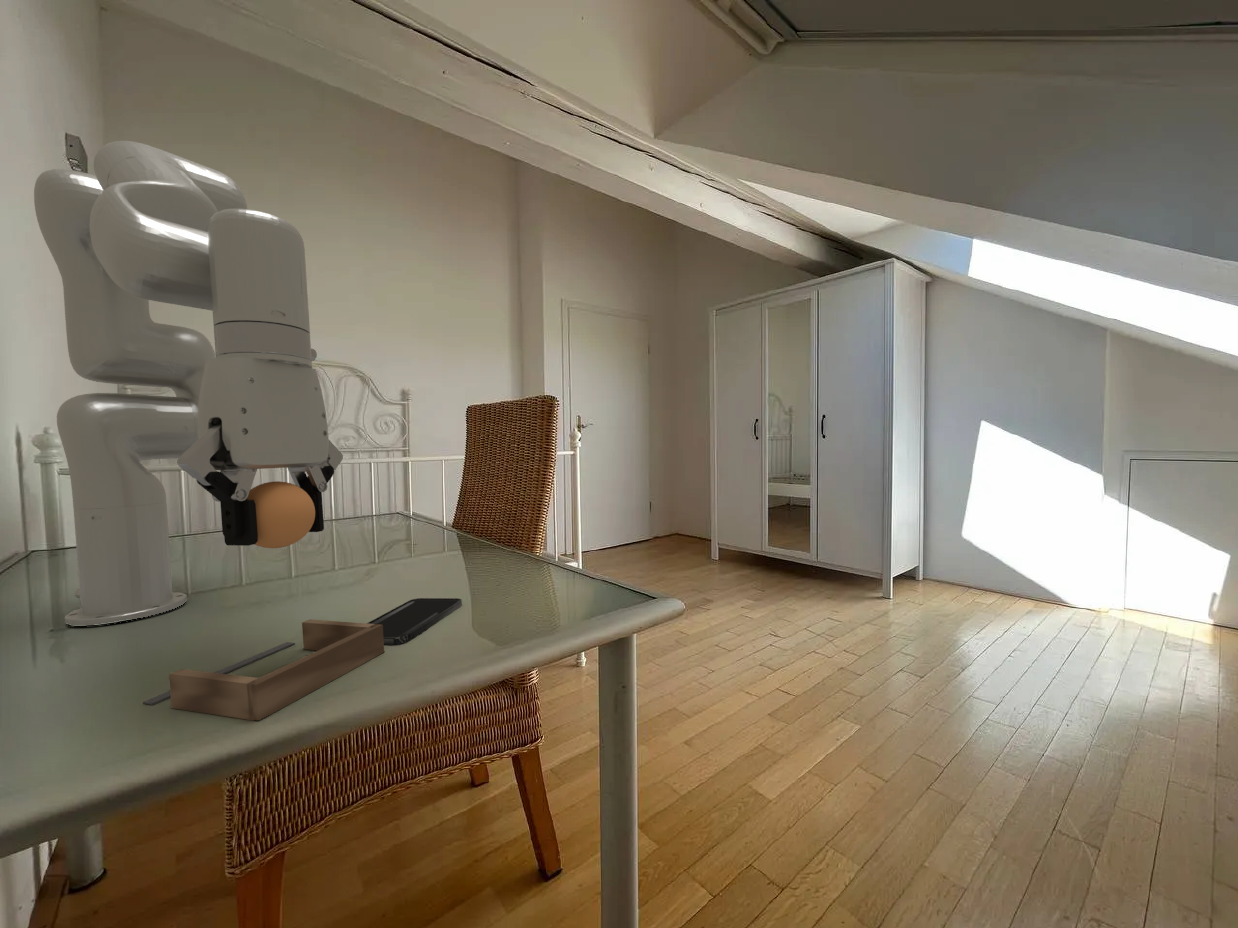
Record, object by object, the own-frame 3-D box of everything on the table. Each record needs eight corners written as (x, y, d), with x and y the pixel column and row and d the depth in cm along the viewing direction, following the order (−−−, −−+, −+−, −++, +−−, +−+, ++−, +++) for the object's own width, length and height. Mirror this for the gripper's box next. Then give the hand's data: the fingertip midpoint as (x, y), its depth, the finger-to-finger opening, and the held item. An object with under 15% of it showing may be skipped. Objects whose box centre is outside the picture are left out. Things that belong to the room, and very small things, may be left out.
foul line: (142, 703, 45) (142, 701, 45) (286, 643, 58) (286, 641, 58) (152, 705, 44) (152, 703, 44) (294, 643, 58) (294, 642, 58)
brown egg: (219, 554, 46) (215, 485, 46) (283, 541, 53) (279, 480, 52) (272, 555, 45) (267, 483, 44) (332, 541, 51) (328, 478, 51)
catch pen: (171, 707, 44) (169, 673, 44) (311, 645, 57) (309, 619, 57) (258, 720, 41) (256, 684, 41) (384, 652, 54) (382, 624, 54)
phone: (339, 637, 57) (413, 597, 72) (340, 647, 57) (414, 605, 72) (403, 639, 56) (465, 598, 71) (403, 649, 56) (465, 606, 71)
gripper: (312, 367, 57) (322, 524, 58) (128, 337, 41) (144, 556, 41) (366, 361, 55) (376, 523, 56) (195, 326, 39) (211, 557, 39)
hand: (277, 536), depth 49 cm, fingers closed on brown egg, 6 cm apart
